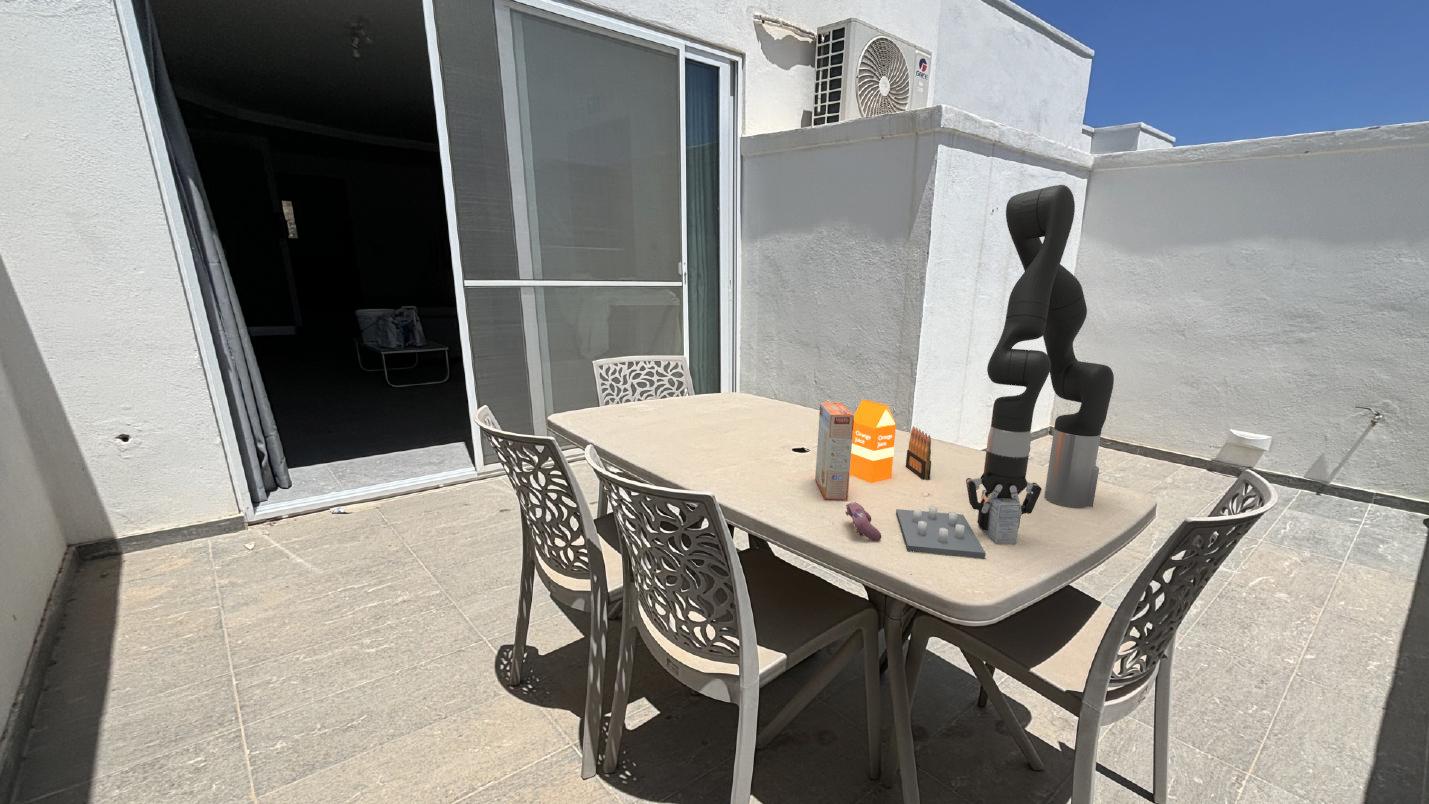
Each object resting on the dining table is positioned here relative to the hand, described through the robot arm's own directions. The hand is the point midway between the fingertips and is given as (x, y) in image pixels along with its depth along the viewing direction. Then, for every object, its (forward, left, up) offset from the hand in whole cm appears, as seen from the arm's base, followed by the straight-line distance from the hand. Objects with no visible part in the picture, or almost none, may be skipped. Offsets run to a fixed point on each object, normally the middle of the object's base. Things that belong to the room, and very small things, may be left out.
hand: (997, 529), depth 117 cm
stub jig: (+12, +2, -1) cm, 12 cm away
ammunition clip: (+10, -37, -2) cm, 38 cm away
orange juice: (+23, -32, -2) cm, 39 cm away
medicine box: (0, 0, -2) cm, 2 cm away
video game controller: (+27, +4, -2) cm, 27 cm away
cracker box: (+33, -19, -2) cm, 38 cm away
